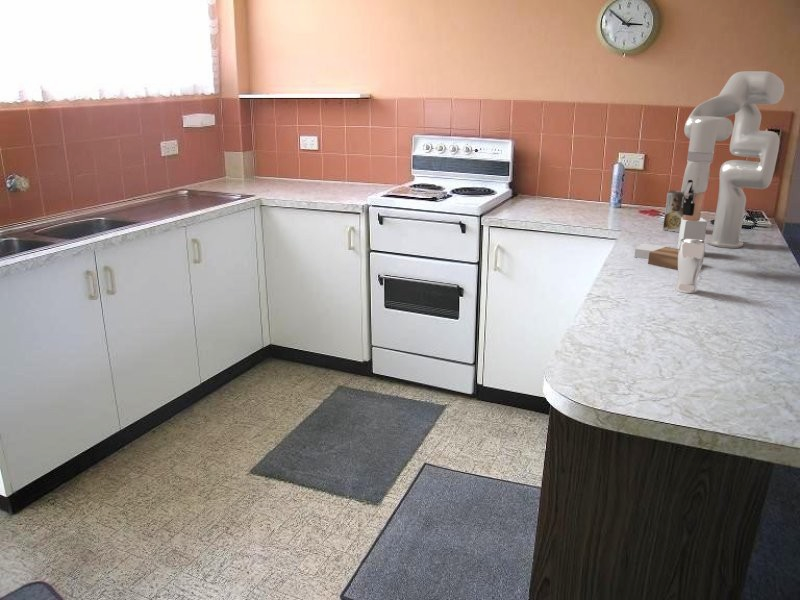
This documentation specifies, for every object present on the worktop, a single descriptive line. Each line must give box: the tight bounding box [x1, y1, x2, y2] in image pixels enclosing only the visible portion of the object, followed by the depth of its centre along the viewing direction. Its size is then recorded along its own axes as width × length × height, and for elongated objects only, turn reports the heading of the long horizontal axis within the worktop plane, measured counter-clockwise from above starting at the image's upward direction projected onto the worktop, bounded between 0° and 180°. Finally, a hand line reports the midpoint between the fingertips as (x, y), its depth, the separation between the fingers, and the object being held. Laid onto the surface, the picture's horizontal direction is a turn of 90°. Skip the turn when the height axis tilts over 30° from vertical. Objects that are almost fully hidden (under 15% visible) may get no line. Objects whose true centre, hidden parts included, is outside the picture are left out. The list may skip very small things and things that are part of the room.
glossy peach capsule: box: [682, 191, 705, 221], centre depth 218 cm, size 5×5×9 cm
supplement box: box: [676, 217, 708, 249], centre depth 238 cm, size 7×7×13 cm
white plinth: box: [634, 243, 672, 260], centre depth 235 cm, size 10×10×3 cm
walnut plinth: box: [647, 246, 679, 271], centre depth 225 cm, size 12×12×4 cm
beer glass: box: [674, 238, 706, 294], centre depth 195 cm, size 7×7×15 cm
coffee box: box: [662, 189, 685, 233], centre depth 274 cm, size 9×6×16 cm
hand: (691, 213), depth 219 cm, fingers closed on glossy peach capsule, 5 cm apart
